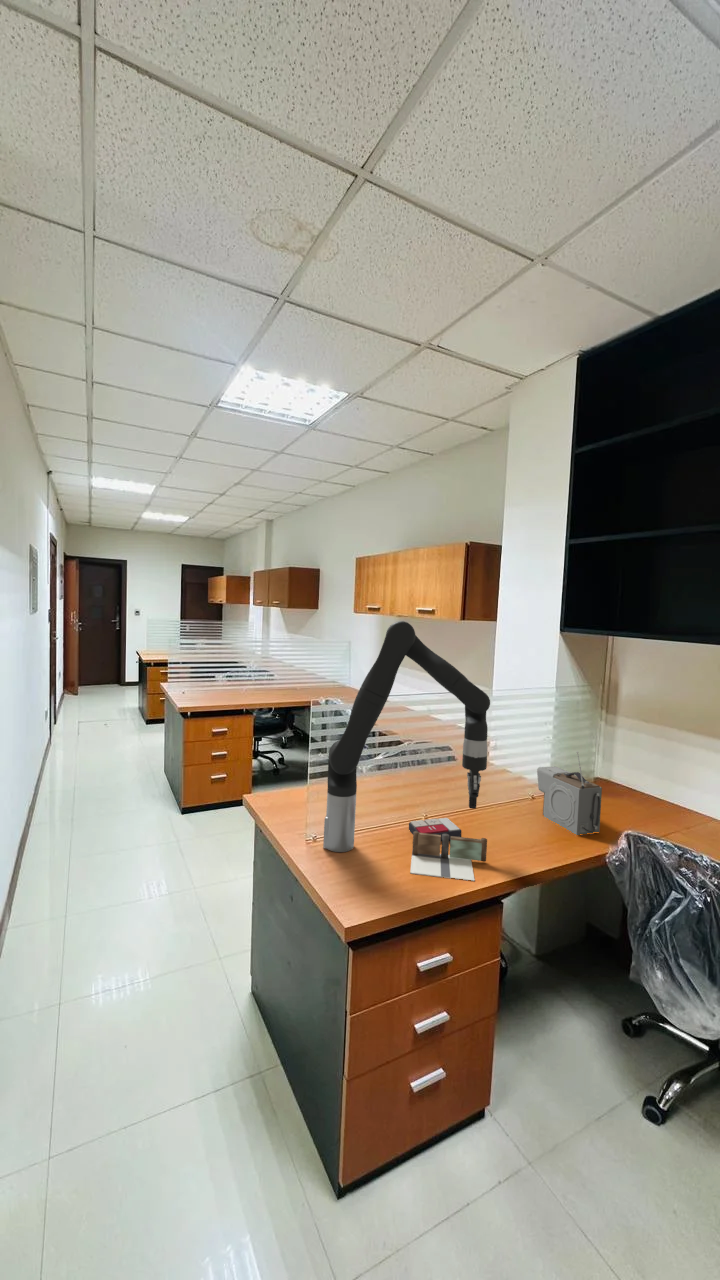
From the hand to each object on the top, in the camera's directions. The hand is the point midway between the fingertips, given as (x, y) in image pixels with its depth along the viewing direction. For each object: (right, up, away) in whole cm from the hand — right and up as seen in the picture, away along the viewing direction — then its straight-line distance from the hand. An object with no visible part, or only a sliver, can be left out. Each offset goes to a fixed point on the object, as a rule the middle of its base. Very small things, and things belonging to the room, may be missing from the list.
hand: (472, 807), depth 151 cm
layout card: (-11, -14, -8) cm, 20 cm away
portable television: (+42, -17, +30) cm, 54 cm away
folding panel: (-3, -14, -5) cm, 15 cm away
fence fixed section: (-14, -14, -3) cm, 20 cm away
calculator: (-10, -15, +14) cm, 22 cm away
